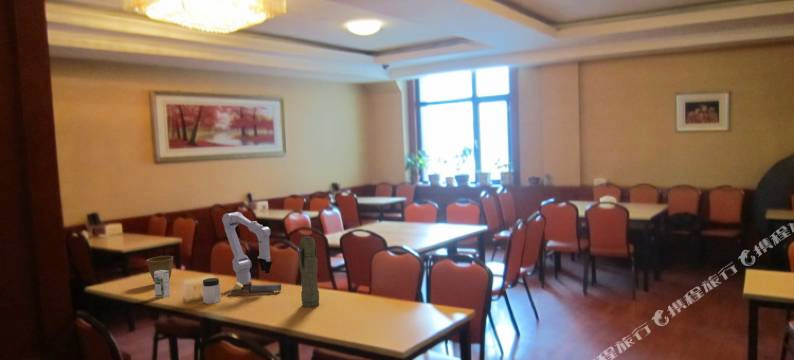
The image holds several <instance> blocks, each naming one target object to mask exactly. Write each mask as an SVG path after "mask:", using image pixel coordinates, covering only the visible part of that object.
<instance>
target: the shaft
mask: <svg viewBox="0 0 794 360" xmlns="http://www.w3.org/2000/svg"><path fill="white" fill-rule="evenodd" d="M260 291H274V292H277V291H278V292H281V291H282V283H277V284H254V285H253V284H252V285H249V292H260Z"/></svg>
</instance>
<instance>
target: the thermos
mask: <svg viewBox="0 0 794 360" xmlns="http://www.w3.org/2000/svg"><path fill="white" fill-rule="evenodd" d="M297 254H298V268H299V272H300V274H301V275H300V276H301V293H300V295H301V297H300V298H301V305H302V306H301V307H303V308H306V307H310V308H315V306H316V307H318V306H319V305H320V290H319V288H318V271H319V269H318V263H319V262H318V260H319V259H318V246H317V245H316V242H315V239H314V237H313V236H303V237H301V239H300V243H299V249H298V253H297ZM317 305H318V306H317Z"/></svg>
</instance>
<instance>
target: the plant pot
mask: <svg viewBox="0 0 794 360" xmlns="http://www.w3.org/2000/svg"><path fill="white" fill-rule="evenodd" d="M146 263H147V267H148V271H149V274H150V276H151V278H152V280H153V283H154V284H155V281H154V272H155V271H158V270H166V271H168V270H169V281H170V279H171V277H172V272H173V263H174V256H172V255H160V256H156V257H155V256H154V257H151V258H148V259H146Z"/></svg>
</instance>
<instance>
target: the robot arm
mask: <svg viewBox="0 0 794 360" xmlns="http://www.w3.org/2000/svg"><path fill="white" fill-rule="evenodd" d="M221 220H222V221H221V222H222V224H223V227H224V231H225V234H226V237H227V240H228V243H229V245H230V248H231V249H230V250H231V251H232V254H233V257H234V258H233V259H232V261H231V263H232V269H233V271H234V272H235V275H236V283H237V282H239V283H241V284H242V285H243V284H244V283H245V282H249V281H251V280H252V277H251V272H250V269H251V268H252V265H253V264H252V261H251V260H250V258H249V257H248V255H246V254H245V253H244V251H243V248H242V246H241V243H240V240H239V237H238V234H237V232H236V227H238V226H239V224H241V225H244V226H246V227H247V229H248V230H249V232H251V233H254V234H255V235H256V237H257V240H258V251H259V255H258V256H257V262H258V264H259V266H260V270H261V272H264V273H265V274H270V272H271V267H272V264H273V262H274V261H273V260H271V251H270V236H271V233H272V230H271V229H270V227H269V226H263V224H260V223H258V221H257V220H255V221H254V220H253V221H251V220H250V219H249V218H246V217H245V216H244V215H243V213H242V212H240V211H235V212H229V213H224V214H223V215H222V217H221ZM251 282H252V281H251ZM252 285H253V282H252Z"/></svg>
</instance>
